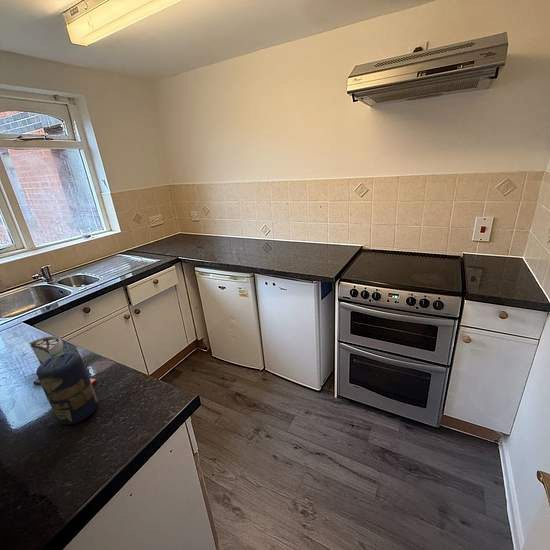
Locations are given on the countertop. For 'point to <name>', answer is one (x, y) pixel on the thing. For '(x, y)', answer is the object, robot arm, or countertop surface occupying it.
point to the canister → (67, 387)
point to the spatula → (40, 384)
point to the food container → (47, 348)
